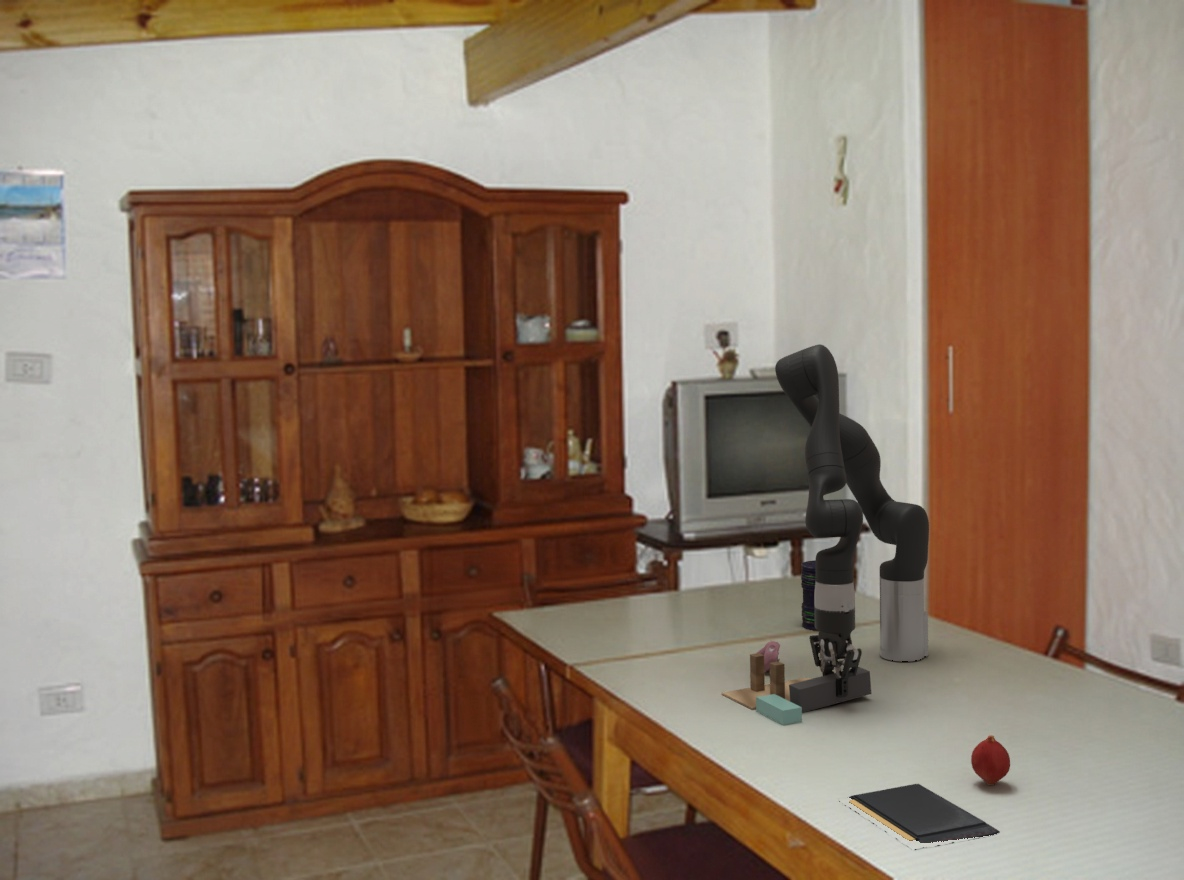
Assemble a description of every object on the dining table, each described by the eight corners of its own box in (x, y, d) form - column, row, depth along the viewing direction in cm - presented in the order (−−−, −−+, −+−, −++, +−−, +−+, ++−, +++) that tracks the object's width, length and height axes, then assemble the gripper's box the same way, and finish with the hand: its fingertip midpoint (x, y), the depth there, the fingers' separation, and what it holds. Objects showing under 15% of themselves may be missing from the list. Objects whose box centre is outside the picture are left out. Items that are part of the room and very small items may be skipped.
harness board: (806, 679, 250) (806, 643, 249) (839, 693, 240) (839, 656, 239) (721, 694, 241) (721, 657, 241) (752, 709, 232) (751, 671, 231)
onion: (965, 778, 195) (965, 729, 194) (1000, 776, 195) (1001, 727, 194) (979, 792, 189) (979, 741, 188) (1016, 790, 189) (1016, 739, 189)
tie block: (774, 709, 233) (774, 693, 232) (801, 723, 224) (801, 707, 224) (756, 712, 231) (756, 697, 231) (783, 726, 223) (782, 710, 222)
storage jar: (850, 624, 293) (849, 562, 292) (835, 633, 285) (834, 569, 284) (811, 619, 299) (810, 558, 297) (794, 628, 290) (794, 566, 289)
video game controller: (768, 683, 253) (784, 653, 252) (748, 673, 254) (763, 643, 253) (770, 669, 263) (785, 641, 262) (751, 660, 264) (765, 631, 262)
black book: (1003, 825, 174) (909, 842, 169) (1003, 838, 174) (909, 856, 169) (922, 776, 193) (835, 791, 188) (922, 788, 193) (835, 803, 188)
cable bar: (860, 689, 239) (858, 666, 238) (871, 693, 236) (869, 671, 235) (790, 707, 232) (789, 684, 232) (801, 713, 229) (799, 689, 229)
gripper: (796, 599, 237) (797, 687, 239) (840, 614, 225) (841, 707, 226) (828, 595, 240) (829, 681, 242) (874, 609, 228) (874, 701, 229)
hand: (835, 693), depth 234 cm, fingers closed on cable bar, 3 cm apart
